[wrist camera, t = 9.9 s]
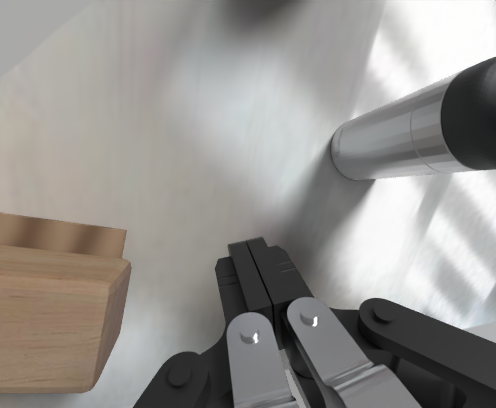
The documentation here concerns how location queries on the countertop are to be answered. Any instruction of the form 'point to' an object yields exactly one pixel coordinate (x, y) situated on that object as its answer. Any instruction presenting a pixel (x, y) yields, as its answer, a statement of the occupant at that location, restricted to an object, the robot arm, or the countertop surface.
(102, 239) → the cutting board
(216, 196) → the countertop surface
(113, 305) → the block
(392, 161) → the robot arm
